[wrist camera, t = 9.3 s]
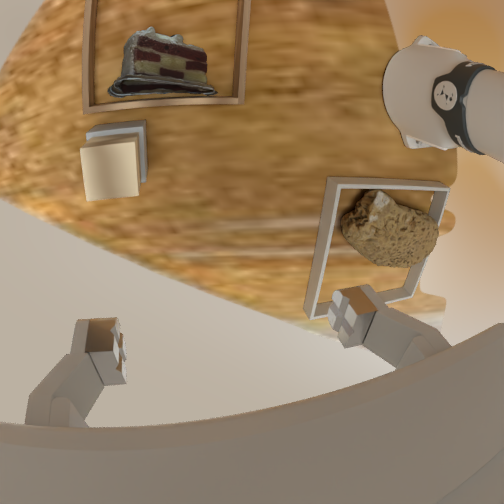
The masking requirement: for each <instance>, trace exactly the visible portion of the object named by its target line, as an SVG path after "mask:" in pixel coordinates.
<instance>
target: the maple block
mask: <svg viewBox="0 0 504 504" xmlns="http://www.w3.org/2000/svg"><path fill="white" fill-rule="evenodd" d="M80 154H81V163H82V171H83V179H84V186H85V193H86V200H87V201H94V200H103V199H112V198H122V197H132V196H139V191H140V185H141V163H140V144H139V132H133V133H123V134H114V135H105V136H98V137H91V138H90V139H89V140H88V141H87V142H86V143H85V144H84V145H83V146H82V147H81V148H80Z"/></svg>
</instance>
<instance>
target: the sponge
mask: <svg viewBox="0 0 504 504" xmlns="http://www.w3.org/2000/svg"><path fill="white" fill-rule="evenodd" d="M342 226H343V228H342V233H343V235H344V237H345V239H346V240H347V241H348V242H349V243H350V244H351V246H353V248H354V249H356V250H357V251H358V252H359V253H360V254H361V255H364V256H365V257H366V258H367V259H368V260H370V261H372V262H373V263H374V264H377V265H378V266H380V265H383V266H390V267H402V268H408V267H410V266H412V265H415V264H418V263H420V262H422V261H423V259H424V258H426V257H428V255H429V254H430V253H431V252H432V251H433V249H434V247H435V245H436V241H437V237H438V235H439V231H438V228H439V227H438V224H437V222H436V221H435V219H433V218H432V217H431V216H429V215H428V214H426V213H423V212H421V211H419V210H415V209H411V208H408V207H407V206H402V205H398V204H395V201H394V200H393V199H392V198H391V197H390V196H389V195H387V193H385V192H382V191H381V190H380V189H371V190H370V191H368V192H365V194H364V197H362V198H361V199H360V201H359V202H357V203H356V206H355V211H354V210H352V211H351V212H349V213H347V214H345V215H343V217H342V220H341V227H342Z"/></svg>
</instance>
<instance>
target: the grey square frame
mask: <svg viewBox="0 0 504 504" xmlns="http://www.w3.org/2000/svg"><path fill="white" fill-rule="evenodd" d="M341 188H352V189H406V190H432V191H435V192H434V196H433V200H432V203H431V207H430V210H429V214H428V215H429V216H431V217H432V218H433V219H435V221H436V222H437V224H438V227H439V225H440V222H441V219H442V216H443V212H444V209H445V206H446V202H447V199H448V195H449V192H450V188H449V187H447V186H446V185H444V184H442V183H441V182H436V181H422V180H407V179H388V178H362V177H327V183H326V189H325V195H324V201H323V208H322V213H321V219H320V225H319V231H318V236H317V242H316V247H315V252H314V258H313V263H312V268H311V273H310V278H309V283H308V288H307V293H306V298H305V302H304V307H303V309H304V311H305V313H306V315H307V316H308V318H309V320H313V319H318V318H323V317H328V310H329V307H330V306H331V304H332V303H333V302H334V301H331V302H325V303H320V304H317V301H318V296H319V292H320V288H321V284H322V279H323V275H324V271H325V266H326V262H327V257H328V252H329V248H330V243H331V238H332V233H333V228H334V223H335V218H336V213H337V207H338V202H339V196H340V191H341ZM428 257H429V255H428ZM428 257H426V258H424V259H423V261H422V262H420V263H418V264H415V265H412V266H411V268H410V271H409V273H408V276H407V279H406V281H405V284H404V286H403V287H402V288H397V289H392V290H388V291H383V292H378V293H377V295H378V296H379V297H380V298H381V299H382V300H383V302H384V303H385V304H388V303H392V302H396V301H400V300H404V299H408V298H412V297H413V295H414V292H415V290H416V287H417V285H418V283H419V280H420V278H421V275H422V272H423V270H424V267H425V265H426V262H427V259H428Z"/></svg>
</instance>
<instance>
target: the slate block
mask: <svg viewBox="0 0 504 504" xmlns="http://www.w3.org/2000/svg"><path fill="white" fill-rule="evenodd" d="M133 132H139V144H140V163H141V183H143V182H146V178H147V170H148V166H147V145H146V120H138V121H127V122H118V123H109V124H102V125H95V126H94V127H93V128H92V129H90V130H89V131H88V132H87V133H86V138H87V141H88V140H89V139H90V138H91V137H98V136H105V135H114V134H123V133H133Z"/></svg>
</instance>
